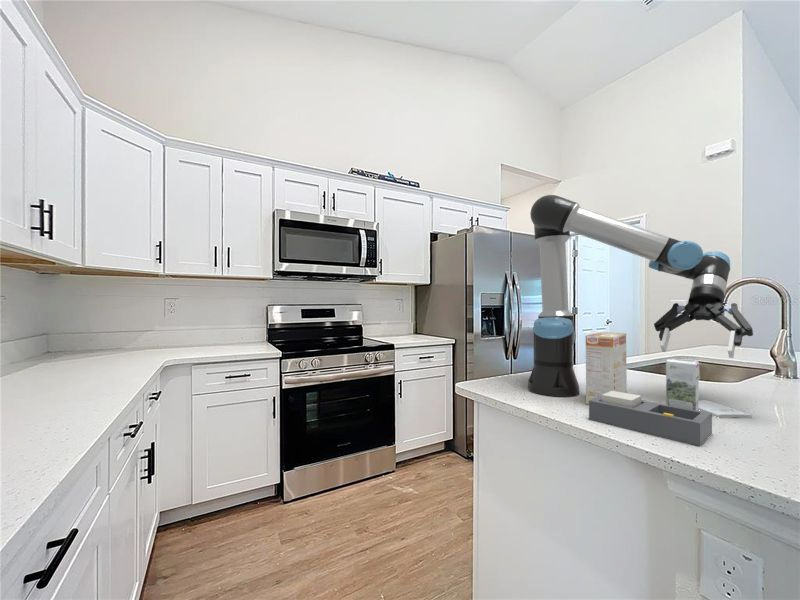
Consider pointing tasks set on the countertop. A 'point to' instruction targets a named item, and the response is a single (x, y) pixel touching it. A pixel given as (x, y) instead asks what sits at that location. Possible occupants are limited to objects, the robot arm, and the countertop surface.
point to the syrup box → (682, 383)
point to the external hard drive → (721, 410)
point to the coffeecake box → (605, 364)
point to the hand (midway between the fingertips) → (694, 351)
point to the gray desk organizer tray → (651, 417)
